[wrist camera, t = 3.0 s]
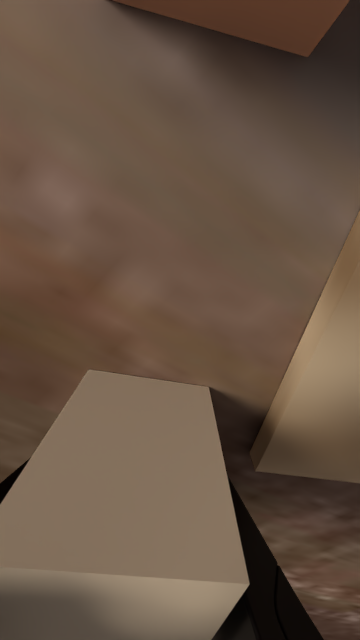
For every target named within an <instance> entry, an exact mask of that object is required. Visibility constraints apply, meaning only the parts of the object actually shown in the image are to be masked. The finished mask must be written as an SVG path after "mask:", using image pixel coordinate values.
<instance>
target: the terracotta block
mask: <svg viewBox="0 0 360 640" xmlns="http://www.w3.org/2000/svg"><path fill="white" fill-rule="evenodd" d="M112 1H115V2H119V3H122V4H126V5H129V6H132V7H136V8H139V9H143V10H146V11H150V12H153V13H157V14H160V15H163V16H167V17H170V18H174V19H177V20H181V21H184V22H188V23H191V24H195V25H198V26H201V27H205V28H208V29H212V30H215V31H219V32H222V33H226V34H229V35H232V36H236V37H239V38H243V39H246V40H250V41H253V42H257V43H260V44H264V45H267V46H270V47H274V48H277V49H281V50H284V51H288V52H291V53H295V54H298V55H301V56H305V57H308V56H309V55H310V54H311V52H312V51H313V50H314V48H315V47H316V46H317V44H318V43H319V42H320V40H321V39H322V37H323V36H324V35H325V33H326V32H327V31H328V29H329V28H330V27H331V25H332V24H333V23H334V21H335V20H336V19H337V17H338V16H339V14H340V13H341V12H342V10H343V9H344V8H345V6H346V5H347V4H348V2H349V1H350V0H112Z"/></svg>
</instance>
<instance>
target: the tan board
mask: <svg viewBox="0 0 360 640" xmlns="http://www.w3.org/2000/svg"><path fill="white" fill-rule="evenodd" d="M249 454H250V457H251V460H252V463H253V466H254V469H255V471H257V472H266V473H275V474H283V475H292V476H301V477H309V478H318V479H327V480H336V481H344V482H353V483H360V211H359V213H358V215H357V218H356V220H355V222H354V224H353V226H352V229H351V231H350V233H349V235H348V237H347V239H346V242H345V244H344V246H343V248H342V250H341V253H340V255H339V257H338V259H337V261H336V264H335V266H334V268H333V270H332V272H331V275H330V277H329V279H328V281H327V283H326V286H325V288H324V290H323V292H322V294H321V297H320V299H319V301H318V303H317V305H316V308H315V310H314V312H313V314H312V316H311V319H310V321H309V323H308V325H307V327H306V330H305V332H304V334H303V336H302V338H301V341H300V343H299V345H298V347H297V349H296V352H295V354H294V356H293V358H292V360H291V363H290V365H289V367H288V369H287V371H286V373H285V376H284V378H283V380H282V382H281V384H280V387H279V389H278V391H277V393H276V395H275V398H274V400H273V402H272V404H271V406H270V409H269V411H268V413H267V415H266V417H265V420H264V422H263V424H262V426H261V428H260V431H259V433H258V435H257V437H256V439H255V442H254V444H253V446H252V448H251V450H250V453H249Z"/></svg>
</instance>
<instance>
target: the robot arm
mask: <svg viewBox="0 0 360 640" xmlns="http://www.w3.org/2000/svg"><path fill="white" fill-rule="evenodd" d="M29 460H30V459H28V460H27V461H26V462H25V463H24V464H23V465H21V466H20V467H19V468H18V469H17V470H15V471H14V472H13V473H12V474H11V475H10V476H8V477H7V478H6V479H5V480H4V481H3V482H1V483H0V504H1V503H2V501H3V499H4V498H5V496H6V495H7V493H8V492H9V490H10V489H11V487H12V486H13V484H14V483H15V481H16V480H17V478H18V477H19V475H20V474H21V472H22V470H23V469H24V467H25V466H26V464H27V463H28V461H29ZM227 477H228V476H227ZM228 482H229V487H230V492H231V497H232V502H233V506H234V511H235V516H236V521H237V526H238V531H239V535H240V540H241V545H242V550H243V555H244V559H245V564H246V569H247V574H248V579H249V586H248V587H247V589H246V590H245V592H244V593H243V595H242V596H241V597H240V599H239V600H238V602H237V603H236V605H235V606H234V608H233V609H232V611H231V612H230V613H229V615H228V616H227V618H226V619H225V621H224V622H223V624H222V625H221V626H220V628H219V629H218V631H217V632H216V634H215V635H214V637H213V638H212V639H211V640H324V639H323V638H322V636H321V634H320V633H319V631H318V630H317V628H316V627H315V625H314V623H313V622H312V620H311V619H310V617H309V616H308V614H307V612H306V611H305V609H304V607H303V606H302V604H301V602H300V601H299V599H298V597H297V596H296V594H295V592H294V591H293V589H292V587H291V585H290V584H289V582H288V580H287V579H286V577H285V575H284V573H283V572H282V570H281V568H280V566H277V561H276V559H275V558H274V556H273V554H272V552H271V551H270V549H269V547H268V545H267V544H266V542H265V540H264V538H263V537H262V535H261V533H260V531H259V530H258V528H257V526H256V524H255V523H254V521H253V519H252V517H251V516H250V514H249V512H248V510H247V509H246V507H245V505H244V504H243V502H242V500H241V498H240V497H239V495H238V493H237V491H236V490H235V488H234V486H233V484H232V483H231V481H230V479H229V477H228Z"/></svg>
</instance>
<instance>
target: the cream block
mask: <svg viewBox="0 0 360 640" xmlns="http://www.w3.org/2000/svg"><path fill="white" fill-rule="evenodd" d="M248 586H249V579H248V574H247V569H246V564H245V559H244V555H243V550H242V545H241V540H240V535H239V531H238V526H237V521H236V516H235V511H234V506H233V502H232V497H231V492H230V487H229V482H228V477H227V473H226V468H225V463H224V458H223V453H222V449H221V444H220V439H219V434H218V429H217V424H216V420H215V415H214V410H213V405H212V400H211V396H210V391H209V387H206V386H199V385H192V384H185V383H179V382H172V381H165V380H158V379H151V378H145V377H138V376H131V375H124V374H118V373H111V372H104V371H97V370H90V369H89V370H88V371H87V373H86V374H85V376H84V377H83V379H82V380H81V382H80V383H79V385H78V387H77V388H76V390H75V391H74V393H73V394H72V396H71V397H70V399H69V400H68V402H67V403H66V405H65V406H64V408H63V409H62V411H61V412H60V414H59V416H58V417H57V419H56V420H55V422H54V423H53V425H52V426H51V428H50V429H49V431H48V432H47V434H46V435H45V437H44V438H43V440H42V441H41V443H40V445H39V446H38V448H37V449H36V451H35V452H34V454H33V455H32V457H31V458H30V460H29V461H28V463H27V464H26V466H25V467H24V469H23V470H22V472H21V474H20V475H19V477H18V478H17V480H16V481H15V483H14V484H13V486H12V487H11V489H10V490H9V492H8V493H7V495H6V496H5V498H4V499H3V501H2V503H1V504H0V640H211V639H212V638H213V637H214V635H215V634H216V632H217V631H218V629H219V628H220V626H221V625H222V624H223V622H224V621H225V619H226V618H227V616H228V615H229V613H230V612H231V611H232V609H233V608H234V606H235V605H236V603H237V602H238V600H239V599H240V597H241V596H242V595H243V593H244V592H245V590H246V589H247V587H248Z"/></svg>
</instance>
